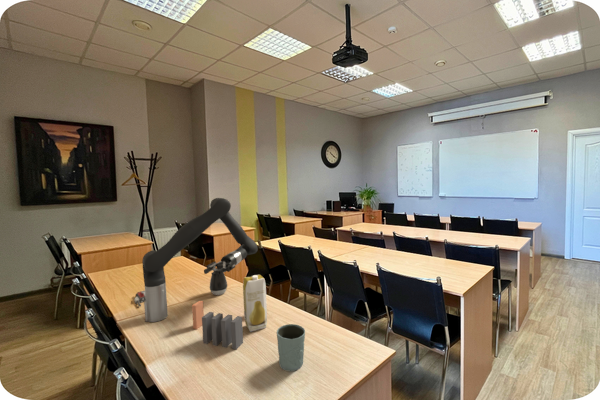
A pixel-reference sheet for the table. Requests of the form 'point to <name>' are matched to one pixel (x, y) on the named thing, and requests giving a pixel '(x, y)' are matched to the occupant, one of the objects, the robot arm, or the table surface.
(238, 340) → the domino
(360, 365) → the table surface
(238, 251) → the robot arm
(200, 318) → the domino
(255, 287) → the juice carton
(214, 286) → the black rounded cone
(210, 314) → the domino
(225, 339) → the domino
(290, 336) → the grey green cup
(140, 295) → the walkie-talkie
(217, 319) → the domino
